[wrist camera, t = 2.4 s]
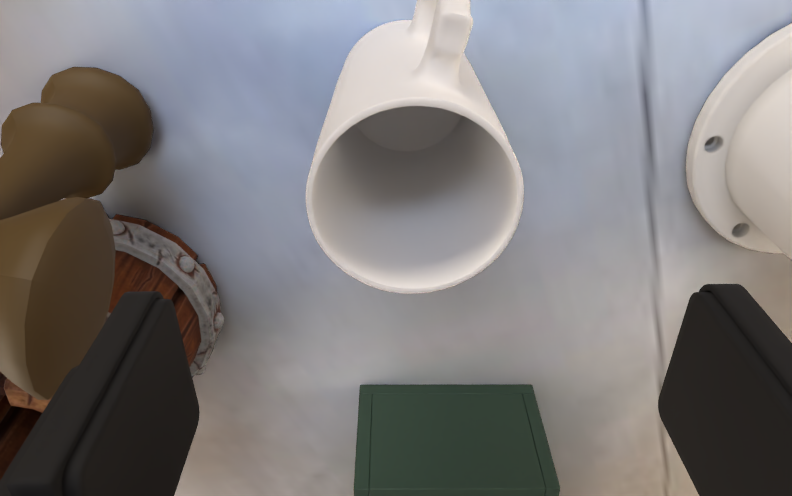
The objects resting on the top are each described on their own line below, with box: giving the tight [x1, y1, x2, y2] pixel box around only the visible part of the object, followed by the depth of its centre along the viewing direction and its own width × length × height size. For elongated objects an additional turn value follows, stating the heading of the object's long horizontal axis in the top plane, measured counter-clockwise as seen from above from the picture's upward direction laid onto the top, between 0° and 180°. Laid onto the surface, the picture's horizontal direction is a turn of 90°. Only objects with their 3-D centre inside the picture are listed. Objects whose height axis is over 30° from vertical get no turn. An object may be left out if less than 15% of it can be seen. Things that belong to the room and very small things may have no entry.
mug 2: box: [306, 0, 524, 294], centre depth 23 cm, size 10×7×12 cm, turn 167°
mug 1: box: [0, 214, 224, 480], centre depth 31 cm, size 12×14×15 cm
